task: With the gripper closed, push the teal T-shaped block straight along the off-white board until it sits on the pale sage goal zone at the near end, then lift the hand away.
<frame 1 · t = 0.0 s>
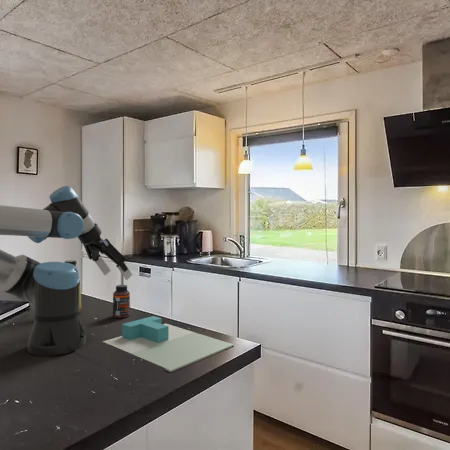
hand: (118, 275, 139), 15 cm above the worktop, tool tilted 35°, fingers open, 13 cm apart
sauce bottle: (72, 313, 144), on the worktop
supplement bottle: (121, 316, 141), on the worktop
t block: (150, 336, 117), resting on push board
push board: (167, 344, 112), on the worktop
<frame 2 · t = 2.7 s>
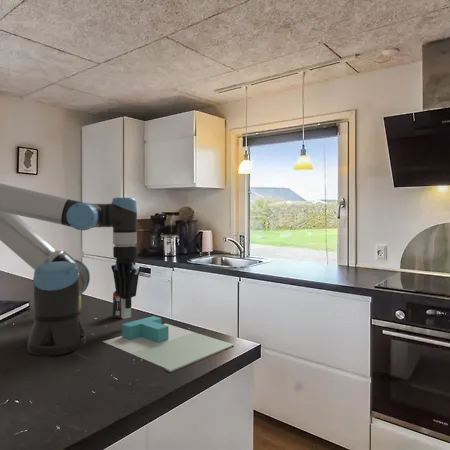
hand: (126, 317, 125), 4 cm above the worktop, tool pointing down, fingers closed
nothing on the worktop moved.
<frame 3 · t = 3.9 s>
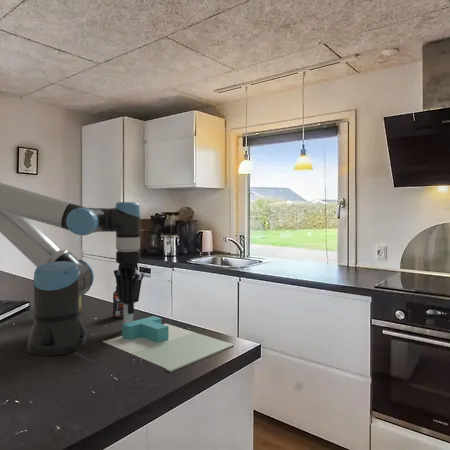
hand: (128, 323, 124), 2 cm above the worktop, tool pointing down, fingers closed
nothing on the worktop moved.
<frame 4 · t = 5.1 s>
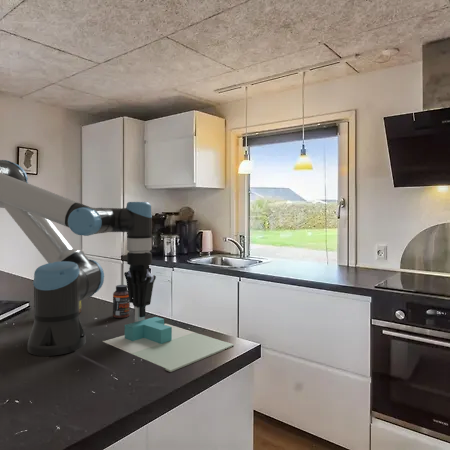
hand: (139, 326, 121), 2 cm above the worktop, tool pointing down, fingers closed
t block: (153, 337, 116), point 1 cm above the worktop, touching gripper, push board
everything else where it was.
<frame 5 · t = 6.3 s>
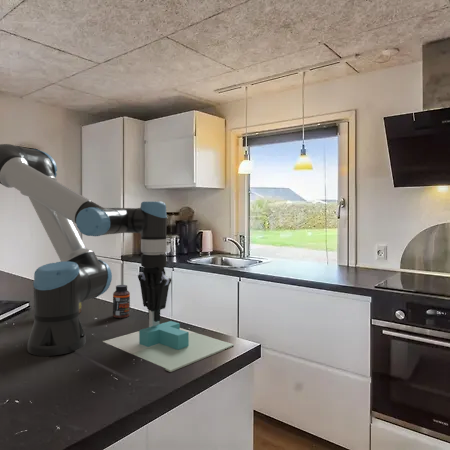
hand: (154, 331, 116), 3 cm above the worktop, tool pointing down, fingers closed
t block: (169, 343, 112), point 1 cm above the worktop, touching gripper
everything else where it was.
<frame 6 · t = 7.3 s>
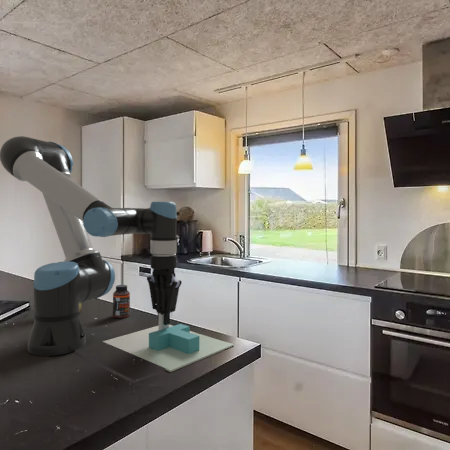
hand: (163, 334, 113), 2 cm above the worktop, tool pointing down, fingers closed
t block: (179, 346, 109), resting on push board, touching gripper
everything else where it was.
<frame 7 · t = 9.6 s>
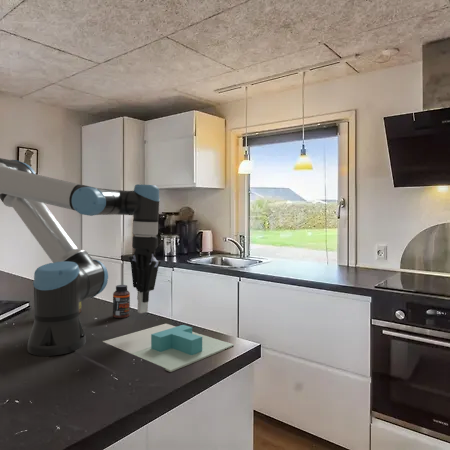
hand: (142, 312, 118), 8 cm above the worktop, tool pointing down, fingers closed
t block: (181, 347, 108), resting on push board
everything else where it was.
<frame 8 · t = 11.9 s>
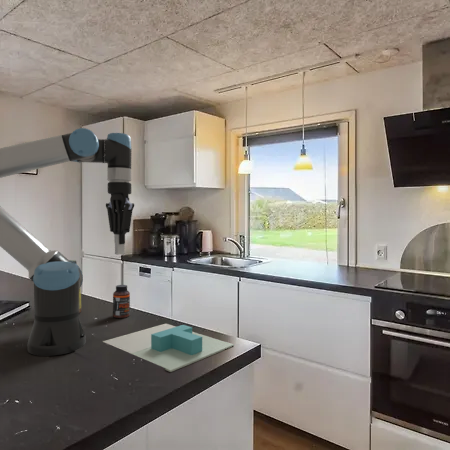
hand: (119, 254, 126), 24 cm above the worktop, tool pointing down, fingers closed
nothing on the worktop moved.
at the end: t block 1.1 cm from the target spot on the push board, point 0.4 cm above the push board's base; t block tilted 0°; t block moved 13.9 cm from its start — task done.
